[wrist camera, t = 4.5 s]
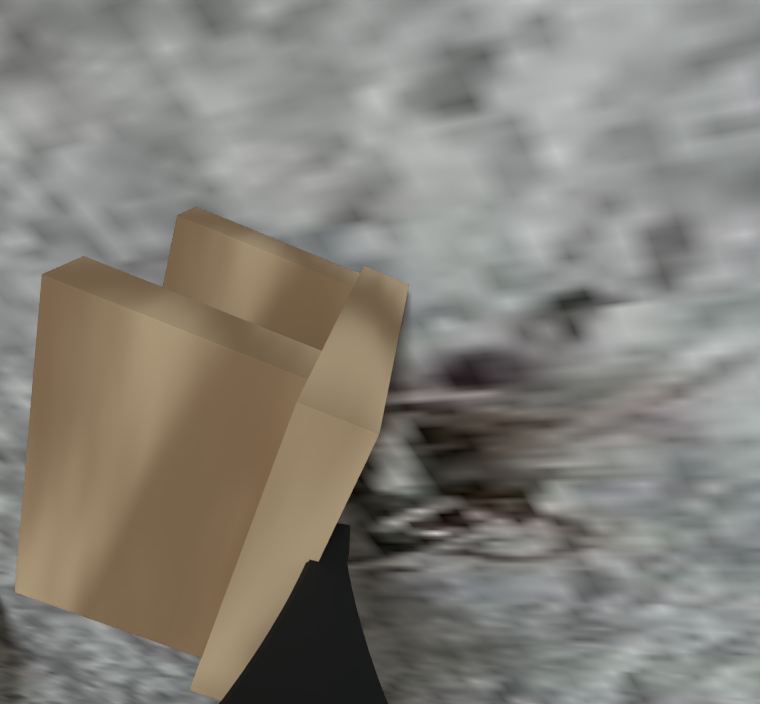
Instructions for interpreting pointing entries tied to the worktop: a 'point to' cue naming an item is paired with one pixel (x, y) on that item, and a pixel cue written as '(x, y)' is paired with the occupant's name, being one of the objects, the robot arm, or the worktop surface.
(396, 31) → the worktop surface
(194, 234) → the tan notched block
